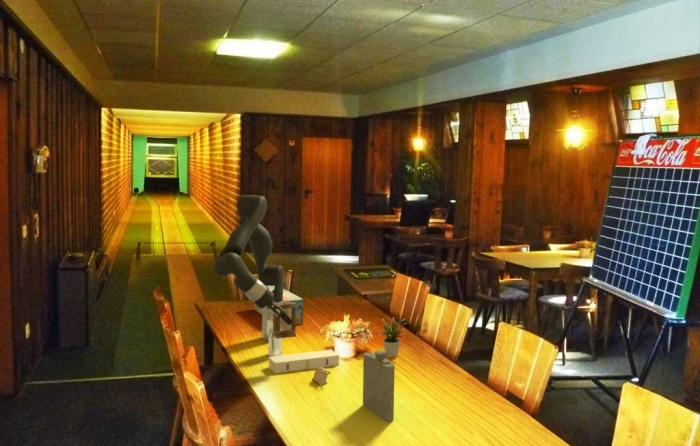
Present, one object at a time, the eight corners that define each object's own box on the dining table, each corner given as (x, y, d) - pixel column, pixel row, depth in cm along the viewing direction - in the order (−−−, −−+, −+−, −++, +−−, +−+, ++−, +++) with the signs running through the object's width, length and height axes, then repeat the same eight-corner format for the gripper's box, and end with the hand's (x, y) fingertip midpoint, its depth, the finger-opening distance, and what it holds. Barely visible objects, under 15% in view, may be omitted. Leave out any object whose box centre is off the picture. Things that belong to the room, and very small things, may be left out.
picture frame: (276, 338, 239) (276, 306, 238) (272, 335, 244) (272, 303, 242) (296, 336, 242) (296, 304, 241) (292, 333, 247) (292, 301, 246)
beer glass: (280, 357, 258) (280, 321, 256) (264, 356, 259) (264, 320, 257) (285, 352, 264) (286, 317, 263) (269, 351, 266) (270, 316, 264)
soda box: (304, 325, 310) (304, 299, 309) (277, 328, 304) (277, 301, 303) (277, 307, 347) (277, 284, 346) (253, 309, 341) (253, 285, 340)
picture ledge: (275, 373, 238) (275, 363, 238) (268, 366, 246) (268, 356, 245) (338, 365, 249) (339, 355, 248) (331, 359, 256) (331, 349, 256)
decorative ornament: (321, 378, 234) (321, 363, 234) (332, 385, 227) (332, 370, 226) (311, 379, 232) (311, 365, 232) (321, 386, 225) (322, 372, 225)
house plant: (416, 353, 266) (417, 314, 264) (405, 362, 254) (406, 322, 252) (385, 348, 272) (385, 311, 270) (372, 357, 259) (373, 318, 258)
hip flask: (361, 405, 209) (361, 345, 207) (371, 402, 210) (372, 344, 209) (386, 422, 195) (388, 359, 193) (397, 420, 197) (399, 357, 195)
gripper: (270, 289, 231) (302, 319, 238) (260, 282, 244) (290, 310, 250) (256, 304, 230) (288, 334, 236) (246, 296, 243) (277, 325, 249)
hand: (289, 322), depth 243 cm, fingers closed on picture frame, 3 cm apart
